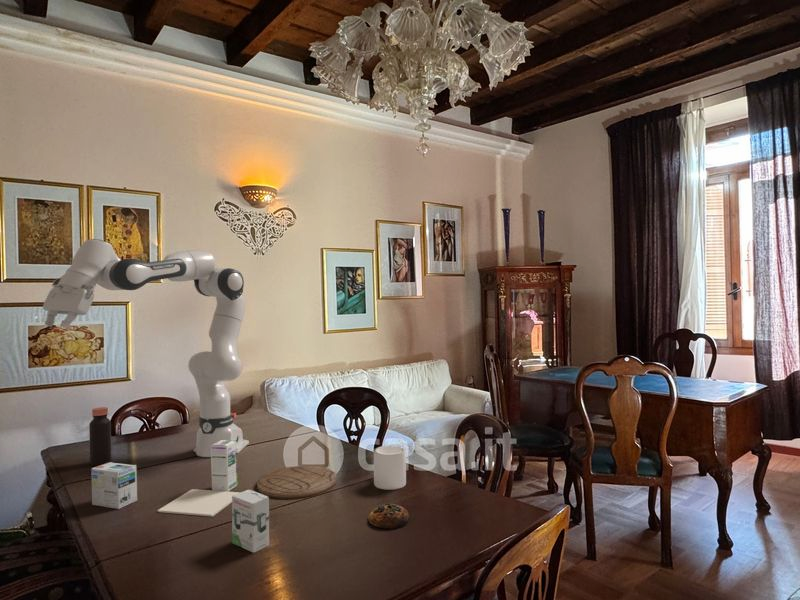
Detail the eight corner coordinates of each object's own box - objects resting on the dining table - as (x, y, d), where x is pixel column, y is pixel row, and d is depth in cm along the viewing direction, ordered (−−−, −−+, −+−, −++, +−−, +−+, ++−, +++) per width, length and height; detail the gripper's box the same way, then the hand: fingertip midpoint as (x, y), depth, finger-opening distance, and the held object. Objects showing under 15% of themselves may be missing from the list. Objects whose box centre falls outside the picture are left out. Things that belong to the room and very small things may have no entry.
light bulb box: (138, 500, 150) (137, 464, 150) (118, 509, 143) (118, 472, 143) (110, 496, 153) (110, 461, 153) (90, 505, 147) (90, 468, 147)
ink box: (230, 543, 122) (230, 494, 122) (247, 535, 126) (247, 488, 126) (253, 553, 117) (252, 503, 117) (270, 545, 121) (269, 496, 121)
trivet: (299, 466, 180) (299, 461, 180) (352, 480, 165) (352, 474, 165) (240, 488, 159) (240, 482, 159) (295, 506, 145) (295, 500, 145)
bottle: (85, 464, 183) (84, 409, 183) (102, 459, 190) (102, 406, 190) (98, 466, 181) (97, 411, 181) (115, 461, 187) (114, 407, 187)
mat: (192, 490, 157) (192, 489, 157) (242, 494, 153) (242, 492, 153) (157, 512, 141) (157, 510, 141) (212, 516, 138) (212, 514, 138)
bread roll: (395, 533, 127) (393, 512, 127) (360, 529, 133) (358, 509, 133) (417, 518, 136) (415, 499, 137) (384, 515, 142) (382, 497, 142)
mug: (367, 477, 167) (366, 444, 167) (396, 473, 171) (395, 441, 171) (379, 491, 154) (379, 456, 154) (410, 486, 158) (410, 452, 158)
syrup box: (228, 492, 155) (227, 445, 155) (210, 491, 156) (210, 444, 156) (237, 485, 161) (237, 440, 161) (221, 484, 162) (220, 439, 162)
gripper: (105, 290, 154) (84, 332, 149) (70, 289, 164) (49, 328, 159) (85, 280, 149) (63, 323, 144) (51, 280, 159) (28, 320, 154)
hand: (55, 326), depth 152 cm, fingers open, 8 cm apart
